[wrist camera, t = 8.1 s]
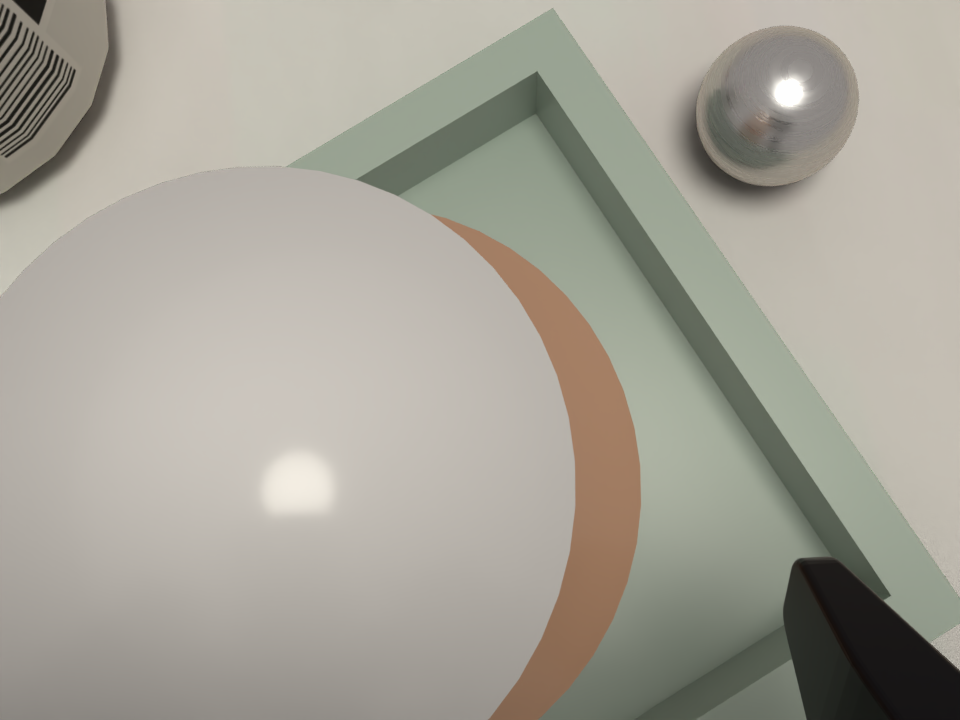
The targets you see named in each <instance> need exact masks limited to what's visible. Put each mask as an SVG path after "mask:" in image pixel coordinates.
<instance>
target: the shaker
mask: <svg viewBox="0 0 960 720" xmlns="http://www.w3.org/2000/svg"><path fill="white" fill-rule="evenodd" d="M640 511H641V475H640V461H639V454H638V447H637V441H636V434H635V428H634V424H633V421H632V417H631V414H630V410H629V407H628V404H627V400H626V397H625V393H624V390H623V388H622V386H621V383H620V381H619V379H618V376H617V374H616V372H615V370H614V367H613V365H612V363H611V360H610V358H609V356H608V354H607V353H606V351H605V349H604V348H603V346H602V344H601V343H600V341H599V339H598V338H597V336H596V334H595V333H594V331H593V329H592V328H591V326H590V325H589V323H588V322H587V321H586V319H585V318H584V317H583V316H582V314H581V313H580V312H579V311H578V309H577V308H576V307H575V306H574V304H573V303H572V302H571V301H570V299H569V298H568V297H567V296H566V295H565V294H564V293H563V292H562V291H561V290H560V289H559V288H558V287H557V286H556V285H555V284H554V283H553V282H552V281H551V280H550V279H549V278H548V277H547V276H546V275H544V274H543V273H542V272H541V271H540V270H539V269H538V268H536V267H535V266H534V265H532V264H531V263H530V262H528V261H527V260H526V259H524V258H523V257H521V256H520V255H519V254H517V253H516V252H515V251H513V250H512V249H511V248H509V247H507V246H505V245H503V244H501V243H500V242H498V241H496V240H494V239H492V238H491V237H489V236H487V235H485V234H483V233H482V232H480V231H477V230H475V229H472V228H470V227H467V226H465V225H462V224H460V223H457V222H455V221H452V220H449V219H447V218H444V217H440V216H436V215H432V214H429V213H427V212H425V211H423V210H422V209H420V208H418V207H416V206H414V205H413V204H411V203H409V202H407V201H405V200H404V199H402V198H400V197H398V196H396V195H394V194H391V193H389V192H386V191H384V190H381V189H379V188H376V187H374V186H371V185H369V184H366V183H363V182H361V181H358V180H354V179H350V178H346V177H342V176H338V175H334V174H330V173H326V172H322V171H316V170H307V169H299V168H290V167H281V166H268V167H235V168H228V169H221V170H214V171H207V172H200V173H196V174H192V175H189V176H185V177H181V178H177V179H174V180H170V181H166V182H163V183H159V184H157V185H155V186H152V187H150V188H147V189H145V190H142V191H140V192H137V193H135V194H132V195H130V196H127V197H125V198H123V199H121V200H119V201H117V202H115V203H114V204H112V205H110V206H108V207H106V208H105V209H103V210H101V211H99V212H97V213H96V214H94V215H92V216H90V217H88V218H87V219H85V220H84V221H83V222H81V223H80V224H78V225H77V226H76V227H74V228H73V229H72V230H70V231H69V232H67V233H66V234H65V235H63V236H62V237H60V238H59V239H58V240H56V241H55V242H54V243H52V244H51V245H50V246H49V247H48V248H47V249H46V250H45V251H44V252H43V253H42V254H41V255H39V256H38V257H37V258H36V259H35V260H34V261H33V262H32V263H31V264H30V265H29V266H28V267H26V268H25V269H24V270H23V271H22V272H21V274H20V275H19V276H18V277H17V278H16V279H15V281H14V282H13V283H12V284H11V285H10V286H9V288H8V289H7V290H6V291H5V292H4V294H3V295H2V296H1V297H0V720H538V719H539V718H541V717H542V716H543V715H544V714H545V713H546V711H547V710H548V709H549V708H550V707H551V706H552V705H553V704H554V703H555V702H556V701H557V700H558V699H559V698H560V697H561V696H562V695H563V694H564V693H565V692H566V691H567V690H568V689H569V688H570V686H571V685H572V684H573V682H574V681H575V680H576V678H577V677H578V676H579V674H580V673H581V671H582V670H583V669H584V667H585V666H586V665H587V663H588V662H589V661H590V659H591V658H592V657H593V655H594V653H595V652H596V650H597V648H598V646H599V644H600V642H601V641H602V639H603V637H604V635H605V633H606V632H607V630H608V628H609V626H610V624H611V622H612V621H613V618H614V616H615V613H616V611H617V608H618V605H619V603H620V600H621V598H622V595H623V593H624V590H625V587H626V585H627V582H628V578H629V574H630V570H631V566H632V562H633V558H634V554H635V549H636V545H637V538H638V529H639V520H640Z"/></svg>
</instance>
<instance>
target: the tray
mask: <svg viewBox="0 0 960 720" xmlns="http://www.w3.org/2000/svg"><path fill="white" fill-rule="evenodd" d="M286 167H290V168H299V169H307V170H316V171H322V172H326V173H330V174H334V175H338V176H342V177H346V178H350V179H354V180H358V181H361V182H363V183H366V184H369V185H371V186H374V187H376V188H379V189H381V190H384V191H386V192H389V193H391V194H394V195H396V196H398V197H400V198H402V199H404V200H405V201H407V202H409V203H411V204H413V205H414V206H416V207H418V208H420V209H422V210H423V211H425V212H427V213H429V214H432V215H436V216H440V217H444V218H447V219H449V220H452V221H455V222H457V223H460V224H462V225H465V226H467V227H470V228H472V229H475V230H477V231H480V232H482V233H483V234H485V235H487V236H489V237H491V238H492V239H494V240H496V241H498V242H500V243H501V244H503V245H505V246H507V247H509V248H511V249H512V250H513V251H515V252H516V253H517V254H519V255H520V256H521V257H523V258H524V259H526V260H527V261H528V262H530V263H531V264H532V265H534V266H535V267H536V268H538V269H539V270H540V271H541V272H542V273H543V274H544V275H546V276H547V277H548V278H549V279H550V280H551V281H552V282H553V283H554V284H555V285H556V286H557V287H558V288H559V289H560V290H561V291H562V292H563V293H564V294H565V295H566V296H567V297H568V298H569V299H570V301H571V302H572V303H573V304H574V306H575V307H576V308H577V309H578V311H579V312H580V313H581V314H582V316H583V317H584V318H585V319H586V321H587V322H588V323H589V325H590V326H591V328H592V329H593V331H594V333H595V334H596V336H597V338H598V339H599V341H600V343H601V344H602V346H603V348H604V349H605V351H606V353H607V354H608V356H609V358H610V360H611V363H612V365H613V367H614V370H615V372H616V374H617V376H618V379H619V381H620V383H621V386H622V388H623V390H624V393H625V397H626V400H627V404H628V407H629V410H630V414H631V417H632V421H633V424H634V428H635V434H636V441H637V447H638V454H639V461H640V475H641V511H640V520H639V529H638V538H637V545H636V549H635V554H634V558H633V562H632V566H631V570H630V574H629V578H628V582H627V585H626V587H625V590H624V593H623V595H622V598H621V600H620V603H619V605H618V608H617V611H616V613H615V616H614V618H613V621H612V622H611V624H610V626H609V628H608V630H607V632H606V633H605V635H604V637H603V639H602V641H601V642H600V644H599V646H598V648H597V650H596V652H595V653H594V655H593V657H592V658H591V659H590V661H589V662H588V663H587V665H586V666H585V667H584V669H583V670H582V671H581V673H580V674H579V676H578V677H577V678H576V680H575V681H574V682H573V684H572V685H571V686H570V688H569V689H568V690H567V691H566V692H565V693H564V694H563V695H562V696H561V697H560V698H559V699H558V700H557V701H556V702H555V703H554V704H553V705H552V706H551V707H550V708H549V709H548V710H547V711H546V713H545V714H544V715H543V716H542V717H541V718H539V719H538V720H807V719H806V715H805V711H804V707H803V703H802V699H801V694H800V690H799V686H798V682H797V678H796V674H795V670H794V665H793V661H792V657H791V653H790V649H789V645H788V641H787V636H786V632H785V628H784V621H783V605H784V600H785V596H786V591H787V586H788V581H789V577H790V572H791V567H792V565H793V563H794V561H795V560H797V559H798V558H805V557H824V556H828V557H833V558H836V559H838V560H839V561H841V562H842V563H843V564H844V565H845V566H846V567H847V568H848V569H850V570H851V571H852V572H853V573H854V574H855V575H856V576H857V577H858V578H859V579H861V580H862V581H863V582H864V583H865V584H866V585H867V586H868V587H869V588H870V589H871V590H873V591H874V592H875V593H876V594H877V595H878V596H879V597H880V598H881V599H882V600H883V601H885V602H886V603H887V604H888V605H889V606H890V607H891V608H892V609H893V610H894V611H895V612H897V613H898V614H899V615H900V616H901V617H902V618H903V619H904V620H905V621H906V622H907V623H909V624H910V625H911V626H912V627H913V628H914V629H915V630H916V631H917V632H918V633H919V634H921V635H922V636H923V637H924V638H925V639H926V640H927V641H928V642H929V643H930V642H931V641H933V640H934V639H936V638H938V637H939V636H941V635H942V634H944V633H945V632H947V631H949V630H950V629H952V628H953V627H955V626H956V625H958V624H960V598H959V596H958V595H957V593H956V592H955V590H954V589H953V588H952V586H951V585H950V583H949V582H948V580H947V579H946V577H945V576H944V575H943V573H942V572H941V570H940V569H939V567H938V566H937V564H936V563H935V561H934V560H933V559H932V557H931V556H930V554H929V553H928V551H927V550H926V548H925V547H924V546H923V544H922V543H921V541H920V540H919V538H918V537H917V535H916V534H915V532H914V531H913V530H912V528H911V527H910V525H909V524H908V522H907V521H906V519H905V518H904V516H903V515H902V514H901V512H900V511H899V509H898V508H897V506H896V505H895V503H894V502H893V501H892V499H891V498H890V496H889V495H888V493H887V492H886V490H885V489H884V487H883V486H882V485H881V483H880V482H879V480H878V479H877V477H876V476H875V474H874V473H873V472H872V470H871V469H870V467H869V466H868V464H867V463H866V461H865V460H864V458H863V457H862V456H861V454H860V453H859V451H858V450H857V448H856V447H855V445H854V444H853V443H852V441H851V440H850V438H849V437H848V435H847V434H846V432H845V431H844V429H843V428H842V427H841V425H840V424H839V422H838V421H837V419H836V418H835V416H834V415H833V414H832V412H831V411H830V409H829V408H828V406H827V405H826V403H825V402H824V400H823V399H822V398H821V396H820V395H819V393H818V392H817V390H816V389H815V387H814V386H813V385H812V383H811V382H810V380H809V379H808V377H807V376H806V374H805V373H804V371H803V370H802V369H801V367H800V366H799V364H798V363H797V361H796V360H795V358H794V357H793V356H792V354H791V353H790V351H789V350H788V348H787V347H786V345H785V344H784V342H783V341H782V340H781V338H780V337H779V335H778V334H777V332H776V331H775V329H774V328H773V327H772V325H771V324H770V322H769V321H768V319H767V318H766V316H765V315H764V313H763V312H762V311H761V309H760V308H759V306H758V305H757V303H756V302H755V300H754V299H753V297H752V296H751V295H750V293H749V292H748V290H747V289H746V287H745V286H744V284H743V283H742V282H741V280H740V279H739V277H738V276H737V274H736V273H735V271H734V270H733V268H732V267H731V266H730V264H729V263H728V261H727V260H726V258H725V257H724V255H723V254H722V253H721V251H720V250H719V248H718V247H717V245H716V244H715V242H714V241H713V239H712V238H711V237H710V235H709V234H708V232H707V231H706V229H705V228H704V226H703V225H702V224H701V222H700V221H699V219H698V218H697V216H696V215H695V213H694V212H693V210H692V209H691V208H690V206H689V205H688V203H687V202H686V200H685V199H684V197H683V196H682V195H681V193H680V192H679V190H678V189H677V187H676V186H675V184H674V183H673V181H672V180H671V179H670V177H669V176H668V174H667V173H666V171H665V170H664V168H663V167H662V166H661V164H660V163H659V161H658V160H657V158H656V157H655V155H654V154H653V152H652V151H651V150H650V148H649V147H648V145H647V144H646V142H645V141H644V139H643V138H642V137H641V135H640V134H639V132H638V131H637V129H636V128H635V126H634V125H633V123H632V122H631V121H630V119H629V118H628V116H627V115H626V113H625V112H624V110H623V109H622V108H621V106H620V105H619V103H618V102H617V100H616V99H615V97H614V96H613V94H612V93H611V92H610V90H609V89H608V87H607V86H606V84H605V83H604V81H603V80H602V79H601V77H600V76H599V74H598V73H597V71H596V70H595V68H594V67H593V65H592V64H591V63H590V61H589V60H588V58H587V57H586V55H585V54H584V52H583V51H582V49H581V48H580V47H579V45H578V44H577V42H576V41H575V39H574V38H573V36H572V35H571V34H570V32H569V31H568V29H567V28H566V26H565V25H564V23H563V22H562V20H561V19H560V18H559V16H558V15H557V13H556V12H555V10H554V9H553V8H552V9H550V10H549V11H547V12H545V13H544V14H542V15H540V16H539V17H537V18H535V19H534V20H532V21H530V22H529V23H527V24H525V25H524V26H522V27H520V28H519V29H517V30H515V31H513V32H512V33H510V34H508V35H507V36H505V37H503V38H502V39H500V40H498V41H497V42H495V43H493V44H492V45H490V46H488V47H487V48H485V49H483V50H482V51H480V52H478V53H476V54H475V55H473V56H471V57H470V58H468V59H466V60H465V61H463V62H461V63H460V64H458V65H456V66H455V67H453V68H451V69H450V70H448V71H446V72H445V73H443V74H441V75H439V76H438V77H436V78H434V79H433V80H431V81H429V82H428V83H426V84H424V85H423V86H421V87H419V88H418V89H416V90H414V91H413V92H411V93H409V94H408V95H406V96H404V97H402V98H401V99H399V100H397V101H396V102H394V103H392V104H391V105H389V106H387V107H386V108H384V109H382V110H381V111H379V112H377V113H376V114H374V115H372V116H370V117H369V118H367V119H365V120H364V121H362V122H360V123H359V124H357V125H355V126H354V127H352V128H350V129H349V130H347V131H345V132H344V133H342V134H340V135H339V136H337V137H335V138H333V139H332V140H330V141H328V142H327V143H325V144H323V145H322V146H320V147H318V148H317V149H315V150H313V151H312V152H310V153H308V154H307V155H305V156H303V157H302V158H300V159H298V160H296V161H295V162H293V163H291V164H290V165H288V166H286Z"/></svg>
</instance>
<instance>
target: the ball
mask: <svg viewBox="0 0 960 720" xmlns="http://www.w3.org/2000/svg"><path fill="white" fill-rule="evenodd" d="M858 104H859V90H858V84H857V79H856V76H855V73H854V70H853V68H852V66H851V63H850V62H849V60H848V59H847V57H846V55H845V54H844V53H843V52H842V51H841V49H840V48H839V47H838V46H837V45H835V44H834V43H833V42H832V41H831V40H829V39H828V38H826V37H825V36H823V35H821V34H819V33H817V32H815V31H812V30H809V29H805V28H801V27H795V26H775V27H770V28H765V29H761V30H758V31H755V32H753V33H750V34H748V35H746V36H744V37H742V38H741V39H739V40H738V41H736V42H735V43H733V44H732V45H730V46H729V47H728V48H727V49H726V50H725V51H724V52H723V53H722V54H721V55H720V56H719V57H718V58H717V59H716V60H715V62H714V63H713V64H712V66H711V67H710V69H709V71H708V72H707V74H706V76H705V78H704V80H703V82H702V84H701V88H700V91H699V95H698V98H697V105H696V123H697V130H698V133H699V137H700V140H701V142H702V145H703V147H704V149H705V151H706V152H707V154H708V156H709V157H710V158H711V159H712V161H713V162H714V163H715V164H716V165H717V166H718V167H719V168H720V169H721V170H723V171H724V172H725V173H727V174H728V175H730V176H732V177H734V178H735V179H738V180H740V181H742V182H745V183H749V184H753V185H759V186H779V185H786V184H790V183H794V182H797V181H800V180H802V179H805V178H807V177H809V176H811V175H812V174H814V173H816V172H817V171H819V170H820V169H822V168H823V167H824V166H826V165H827V164H828V163H829V162H830V161H831V160H832V159H833V158H834V157H835V156H836V155H837V154H838V153H839V151H840V150H841V149H842V147H843V146H844V145H845V143H846V141H847V140H848V138H849V136H850V134H851V131H852V129H853V127H854V124H855V121H856V117H857V113H858Z"/></svg>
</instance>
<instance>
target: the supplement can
mask: <svg viewBox="0 0 960 720" xmlns="http://www.w3.org/2000/svg"><path fill="white" fill-rule="evenodd" d="M108 49H109V44H108V29H107V14H106V0H0V194H2V193H4V192H6V191H7V190H9V189H10V188H11V187H13V186H14V185H15V184H17V183H18V182H20V181H21V180H22V179H24V178H25V177H26V176H28V175H29V174H30V173H32V172H33V171H35V170H36V169H37V168H39V167H40V166H41V165H43V164H44V163H46V162H47V161H48V160H50V159H51V158H52V157H54V156H55V155H56V154H57V152H58V151H59V150H60V148H61V147H62V145H63V144H64V143H65V141H66V140H67V139H68V137H69V136H70V134H71V133H72V132H73V130H74V129H75V127H76V126H77V125H78V123H79V122H80V121H81V119H82V118H83V116H84V115H85V114H86V112H87V111H88V109H89V108H90V107H91V105H92V102H93V99H94V96H95V92H96V89H97V86H98V82H99V79H100V76H101V73H102V69H103V66H104V63H105V59H106V56H107V53H108Z"/></svg>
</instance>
